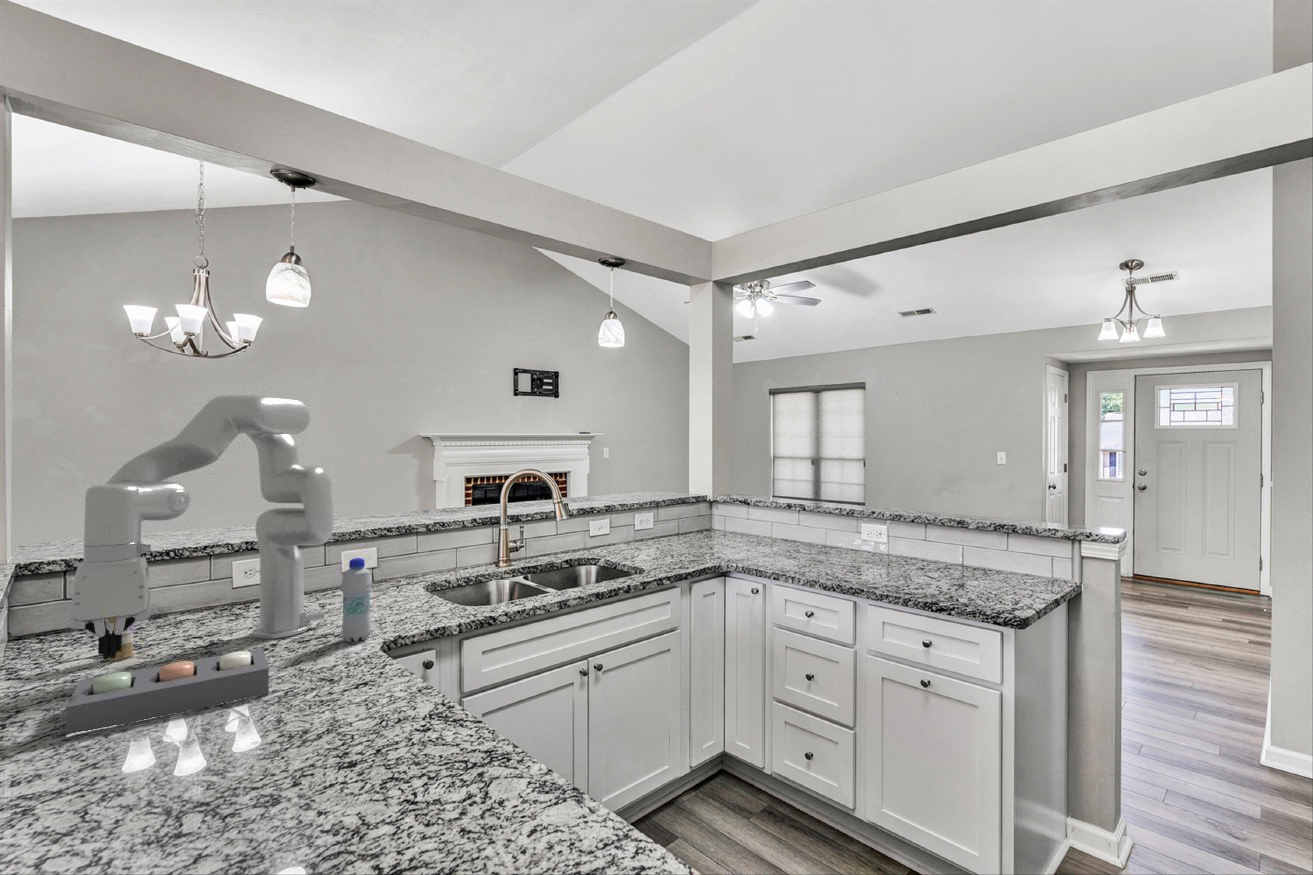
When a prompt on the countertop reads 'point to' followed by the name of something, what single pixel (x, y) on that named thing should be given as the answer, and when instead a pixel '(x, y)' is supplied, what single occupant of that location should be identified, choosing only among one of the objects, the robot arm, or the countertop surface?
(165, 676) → the terracotta button
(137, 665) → the countertop surface
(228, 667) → the cream button
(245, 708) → the countertop surface
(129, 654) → the sprinkles bottle
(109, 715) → the button box
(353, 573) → the bottle
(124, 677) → the sage button
